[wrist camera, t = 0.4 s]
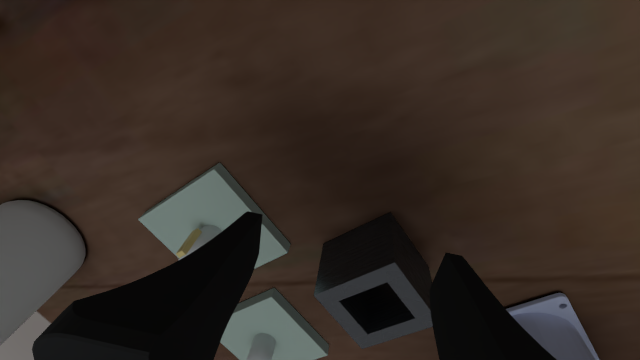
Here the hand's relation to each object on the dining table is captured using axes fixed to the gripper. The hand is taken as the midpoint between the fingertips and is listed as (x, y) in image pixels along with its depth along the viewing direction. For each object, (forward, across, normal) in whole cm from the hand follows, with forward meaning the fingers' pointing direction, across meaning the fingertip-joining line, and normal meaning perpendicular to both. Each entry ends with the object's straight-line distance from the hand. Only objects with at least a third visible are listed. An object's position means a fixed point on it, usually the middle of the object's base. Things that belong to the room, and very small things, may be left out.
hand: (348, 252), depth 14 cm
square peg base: (+10, +9, +8) cm, 16 cm away
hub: (+10, -3, +8) cm, 13 cm away
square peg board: (+10, +4, +19) cm, 22 cm away
